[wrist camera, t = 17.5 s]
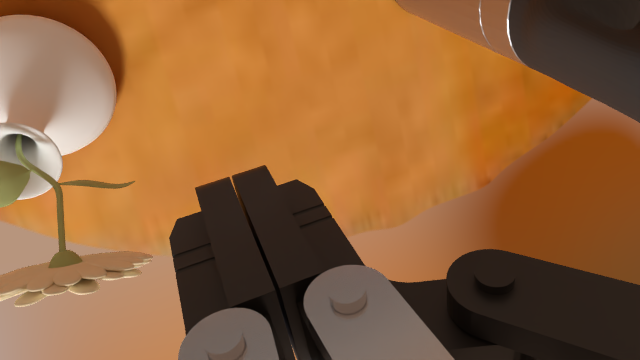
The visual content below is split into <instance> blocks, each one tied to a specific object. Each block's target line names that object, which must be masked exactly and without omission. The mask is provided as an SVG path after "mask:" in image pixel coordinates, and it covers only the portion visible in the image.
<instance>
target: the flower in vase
mask: <svg viewBox="0 0 640 360" xmlns="http://www.w3.org/2000/svg"><path fill="white" fill-rule="evenodd" d="M116 95H117V92H116V83H115V80H114V76H113V73H112V71H111V68H110V66H109V64H108V62H107V61H106V59H105V57H104V56H103V55H102V53H101V52H100V51H99V49H98V48H97V47H96V46H95V45H94V44H93V43H92V42H91V41H90V40H88V39H87V38H86V37H85V36H84V35H82V34H81V33H79V32H78V31H76V30H75V29H73V28H71V27H69V26H67V25H65V24H63V23H60V22H58V21H55V20H52V19H49V18H45V17H41V16H33V15H9V16H3V17H0V207H5V206H8V205H10V204H12V203H13V202H15V201H16V200H21V199H28V198H33V197H36V196H39V195H41V194H43V193H45V192H47V191H48V190H49V189H51V188H52V187H53V188H54V189H55V192H56V197H57V219H58V236H59V252H58V253H56V254H55V255H54V256H53V258H52V260H51V261H50V262H47V263H43V264H39V265H33V266H28V267H25V268H21V269H17V270H14V271H12V272H9V273H6V274H3V275H0V301H2V300H5V299H8V298H10V297H13V296H16V295H19V294H21V293H24V292H25V293H24V294H23V295H21V296H20V297H19V298H18V299H17V300H16V301H15V303H14V304H15V306H16V307H23V306H28V305H31V304H34V303H36V302H38V301H40V300H42V299H43V298H45V297H46V296H48V295H49V296H52V295H58V294H62V293H64V292H66V291H67V290H68V291H70V292H72V293H75V294H78V295H84V294H90V293H93V292H96V291H98V290H99V288H100V286H99V283H98V282H97V281H95V280H94V279H99V280H115V279H120V278H129V277H135V276H139V275H140V274H141V273H142V272H141V271H140V270H136V269H133V268H137V267H141V266H143V265H144V264H147V263H150V262H151V259H152V258H153V256H152V255H149V254H145V253H141V252H130V251H123V252H110V253H99V254H92V255H85V256H78V255H77V254H76V253H74V252H73V251H70V250H66V246H65V229H64V212H63V193H62V189H61V187H60V185H77V186H89V187H98V188H113V189H115V188H122V187H126V186H128V185H130V184H132V183H134V182H135V181H133V182H129V183H124V184H110V183H103V182H98V181H91V180H77V181H70V182H64V183H58V182H57V181H58V179H59V177H60V175H61V172H62V167H63V161H62V156H63V155H66V154H70V153H72V152H75V151H77V150H79V149H81V148H83V147H85V146H86V145H88V144H90V143H91V142H92V141H94V140H95V139H96V138H97V137H98V136H99V135H100V134H101V133H102V132H103V131H104V130H105V128H106V127H107V126H108V124H109V122H110V120H111V118H112V116H113V113H114V110H115V105H116Z"/></svg>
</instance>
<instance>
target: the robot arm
mask: <svg viewBox="0 0 640 360" xmlns="http://www.w3.org/2000/svg"><path fill="white" fill-rule="evenodd" d="M395 1H396V2H397V3H398V4H399V5H400V6H401V7H402V8H403V9H405V10H406V11H408V12H410V13H412V14H414V15H416V16H418V17H420V18H423V19H425V20H427V21H429V22H431V23H433V24H435V25H438V26H440V27H442V28H444V29H446V30H448V31H451V32H453V33H455V34H457V35H459V36H462V37H464V38H466V39H468V40H470V41H473V42H475V43H477V44H479V45H481V46H484V47H486V48H488V49H490V50H492V51H494V52H497V53H499V54H501V55H503V56H506V57H508V58H510V59H513V60H515V61H517V62H519V63H521V64H523V65H526V66H528V67H530V68H532V69H534V70H536V71H539V72H541V73H543V74H545V75H547V76H549V77H551V78H553V79H555V80H557V81H559V82H561V83H563V84H565V85H567V86H569V87H571V88H573V89H575V90H577V91H579V92H581V93H583V94H585V95H587V96H589V97H591V98H594V99H596V100H598V101H600V102H602V103H604V104H606V105H608V106H610V107H612V108H614V109H615V110H618V111H619V112H621V113H623V114H625V115H627V116H629V117H631V118H632V119H634V120H636V121H638V122H639V123H640V0H395ZM232 179H233V183H234V186H235V190H236V192H235V190H234V187H233V185H232V182H231V180H230V178H229V177H227V178H224V179H221V180H217V181H214V182H211V183H208V184H205V185H202V186H199V187H196V188H195V190H196V193H197V197H198V200H199V204H200V207H201V212H198V213H195V214H192V215H189V216H186V217H183V218H179V219H177V221H176V223H175V226H174V228H173V230H172V233H171V235H170V238H169V239H170V245H171V250H172V256H173V262H174V268H175V272H176V279H177V285H178V290H179V296H180V302H181V308H182V313H183V319H184V324H185V330H186V337H185V339H184V340H183V342H182V344H181V347H180V350H179V357H178V360H295V357H294V353H295V355H296V358H297V360H640V285H637V284H633V283H629V282H625V281H621V280H617V279H613V278H609V277H605V276H601V275H598V274H594V273H590V272H585V271H582V270H578V269H574V268H570V267H566V266H562V265H558V264H554V263H551V262H546V261H543V260H539V259H535V258H531V257H527V256H523V255H519V254H515V253H511V252H507V251H502V250H494V249H487V250H486V249H484V250H477V251H473V252H469V253H467V254H465V255H462V256H461V257H459V258H458V259H457V260H455V262H453V263H452V265H451V266H450V268H449V270H448V273H447V278H446V279H442V280H433V281H424V282H413V283H405V282H396V281H391V280H388V279H387V278H386V277H385V276H384V275H383V274H381V273H380V272H378V271H377V270H375V269H372V268H369V267H366V266H365V265H364V264H363V262H362V261H361V259H360V258H359V256H358V255H357V253H356V251H355V250H354V249H353V247H352V245H351V244H350V242H349V241H348V240H347V238H346V236H345V235H344V233H343V232H342V230H341V229H340V227H339V226H338V224H337V223H336V221H335V220H334V218H332V215H331V214H330V212H329V211H328V209H327V208H326V206H324V203H323V202H322V200H321V199H320V197H319V196H318V194H317V192H316V191H315V189H314V188H312V187H310V186H308V185H306V184H304V183H302V182H300V181H298V180H297V179H296V180H293V181H290V182H287V183H284V184H281V185H278V186H277V185H276V183H275V181H274V180H273V178H272V176H271V174H270V172H269V170H268V169H267V167H266V166H265V165H264V166H260V167H257V168H254V169H251V170H248V171H245V172H242V173H239V174H236V175H233V176H232ZM236 193H237V195H236ZM237 196H238V197H237ZM238 199H239V200H238ZM291 345H292V346H291ZM292 348H293V349H292ZM293 350H294V353H293Z"/></svg>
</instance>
